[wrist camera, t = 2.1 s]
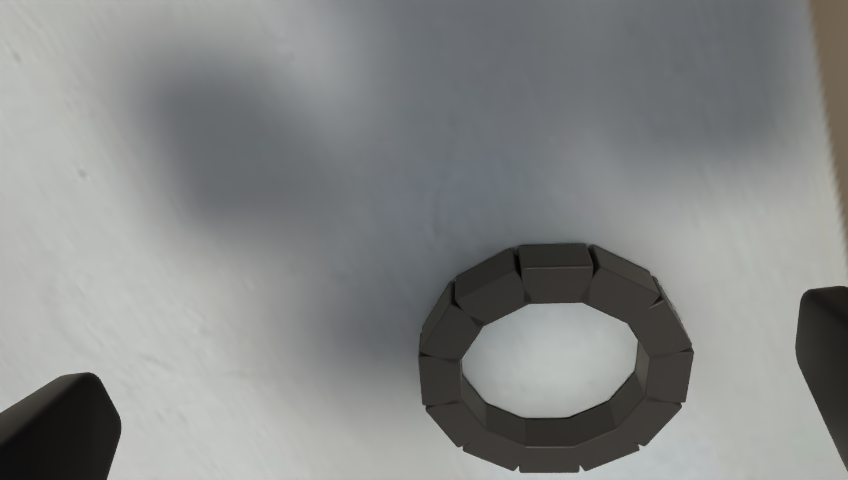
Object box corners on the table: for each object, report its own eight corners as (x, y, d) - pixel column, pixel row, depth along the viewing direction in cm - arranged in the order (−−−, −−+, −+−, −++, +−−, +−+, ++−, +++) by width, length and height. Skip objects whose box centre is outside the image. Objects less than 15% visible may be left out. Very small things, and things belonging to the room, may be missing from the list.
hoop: (695, 239, 21) (709, 262, 19) (663, 444, 25) (673, 473, 24) (413, 247, 21) (410, 270, 20) (430, 445, 26) (428, 474, 24)
